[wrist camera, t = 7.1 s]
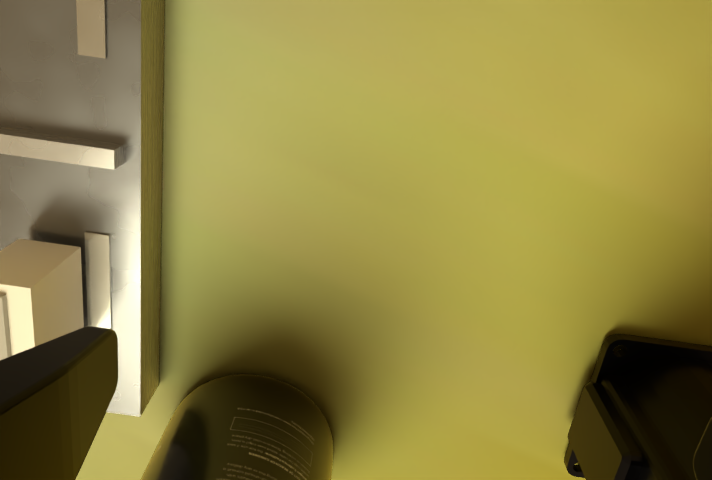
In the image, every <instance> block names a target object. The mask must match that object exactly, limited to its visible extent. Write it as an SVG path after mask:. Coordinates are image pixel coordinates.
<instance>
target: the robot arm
mask: <svg viewBox="0 0 712 480" xmlns="http://www.w3.org/2000/svg"><path fill="white" fill-rule="evenodd" d="M618 345H623V347H622V348H621V349H620V350H618V351H613V350H614V348H615V347H616V346H618ZM117 383H118V338H117V334H116V332H115V331H114V330H113V329H108V328H101V327H94V326H86V327H83V328H80V329H78V330H75V331H73V332H70V333H68V334H65V335H63V336H60V337H58V338H55V339H53V340H50V341H48V342H45V343H43V344H40V345H38V346H35V347H33V348H30V349H28V350H25V351H23V352H20V353H17V354H15V355H12V356H10V357H7V358H5V359H2V360H0V480H75V479H76V477H77V475H78V473H79V471H80V468H81V466H82V464H83V462H84V460H85V458H86V455H87V453H88V451H89V449H90V446H91V444H92V442H93V440H94V438H95V435H96V433H97V431H98V429H99V427H100V424H101V422H102V420H103V418H104V415H105V413H106V411H107V409H108V407H109V404H110V402H111V400H112V398H113V396H114V393H115V390H116V387H117ZM568 439H569V442H570V443H569V446H568V449H567V452H566V455H565V458H564V463H565V466H566V468H567V471H568V473H569V474H571V475H572V476H576V477H582V478H585V479H586V480H712V347H711V346H704V345H697V344H690V343H683V342H675V341H668V340H661V339H654V338H647V337H640V336H632V335H625V334H613V335H611V336H609V337H608V338H606V339H605V341H604V343H603V345H602V348H601V351H600V354H599V357H598V360H597V363H596V366H595V369H594V372H593V375H592V378H591V381H590V382H589V383H588V384H587V385H586V386H584V388H583V391H582V394H581V397H580V400H579V403H578V406H577V409H576V412H575V415H574V418H573V421H572V424H571V427H570V430H569V433H568ZM577 462H579V464H578V465H574V464H575V463H577Z"/></svg>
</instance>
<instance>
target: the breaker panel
mask: <svg viewBox="0 0 712 480" xmlns="http://www.w3.org/2000/svg"><path fill="white" fill-rule="evenodd" d="M164 14H165V0H0V251H1V250H2V249H4V248H5V247H7V246H8V245H10V244H11V243H13V242H14V241H16V240H17V239H26V240H34V241H41V242H48V243H55V244H62V245H69V246H77V247H81V268H82V294H83V320H84V327H86V326H94V327H101V328H108V329H113V330H114V331H115V332H116V334H117V338H118V383H117V387H116V390H115V393H114V396H113V398H112V400H111V402H110V404H109V407H108V409H107V411H106V412H109V413H117V414H124V415H131V416H139V417H140V416H141V415H142V413H143V411H144V410H145V408H146V406H147V404H148V403H149V401H150V399H151V397H152V396H153V394H154V392H155V391H156V389H157V387H158V385H159V339H160V274H161V209H162V144H163V79H164Z"/></svg>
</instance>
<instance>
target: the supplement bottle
mask: <svg viewBox="0 0 712 480" xmlns="http://www.w3.org/2000/svg"><path fill="white" fill-rule="evenodd" d="M332 465H333V439H332V434H331V431H330V428H329V425H328V423H327V421H326V419H325V417H324V415H323V414H322V412H321V411H320V409H319V408H318V407H317V406H316V404H315V403H314V402H313V401H312V400H311V399H310V398H308V397H307V396H306V395H305V394H304V393H302V392H301V391H299V390H298V389H296V388H295V387H293V386H291V385H289V384H287V383H285V382H282V381H280V380H277V379H274V378H271V377H266V376H262V375H254V374H236V375H229V376H224V377H220V378H217V379H214V380H211V381H209V382H207V383H205V384H203V385H201V386H199V387H198V388H196V389H195V390H193V391H192V392H191V393H190V394H189V395H187V396H186V397H185V398H184V399H183V401H182V402H181V403H180V404H179V406H178V407H177V409H176V410H175V412H174V414H173V416H172V418H171V419H170V421H169V423H168V425H167V427H166V429H165V431H164V433H163V435H162V437H161V439H160V441H159V443H158V445H157V447H156V449H155V451H154V453H153V455H152V457H151V459H150V461H149V463H148V466H147V468H146V470H145V472H144V474H143V476H142V478H141V480H331V475H332Z"/></svg>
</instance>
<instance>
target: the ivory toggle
mask: <svg viewBox="0 0 712 480" xmlns="http://www.w3.org/2000/svg"><path fill="white" fill-rule="evenodd" d="M83 327H84V320H83V294H82V268H81V247H77V246H69V245H62V244H55V243H48V242H41V241H34V240H26V239H17V240H16V241H14V242H13V243H11V244H10V245H8V246H7V247H5V248H4V249H2V250H1V251H0V360H2V359H5V358H7V357H10V356H12V355H15V354H17V353H20V352H23V351H25V350H28V349H30V348H33V347H35V346H38V345H40V344H43V343H45V342H48V341H50V340H53V339H55V338H58V337H60V336H63V335H65V334H68V333H70V332H73V331H75V330H78V329H80V328H83Z"/></svg>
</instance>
